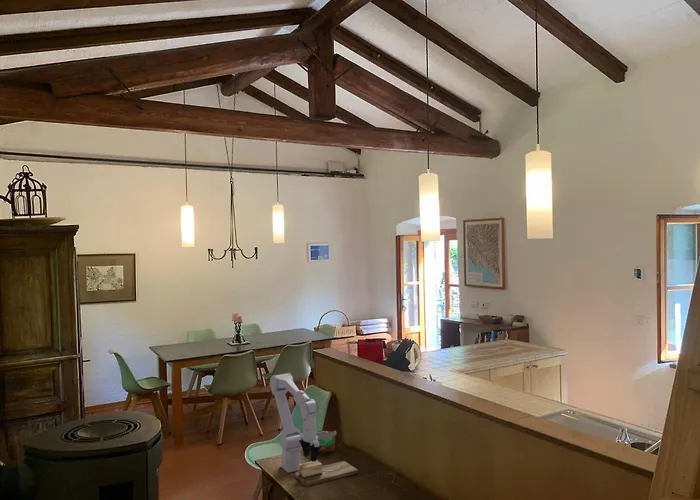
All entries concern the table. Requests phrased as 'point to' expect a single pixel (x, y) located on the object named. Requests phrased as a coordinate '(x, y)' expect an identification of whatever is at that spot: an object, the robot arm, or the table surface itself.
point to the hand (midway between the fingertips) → (310, 458)
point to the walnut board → (329, 473)
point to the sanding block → (310, 469)
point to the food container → (326, 440)
